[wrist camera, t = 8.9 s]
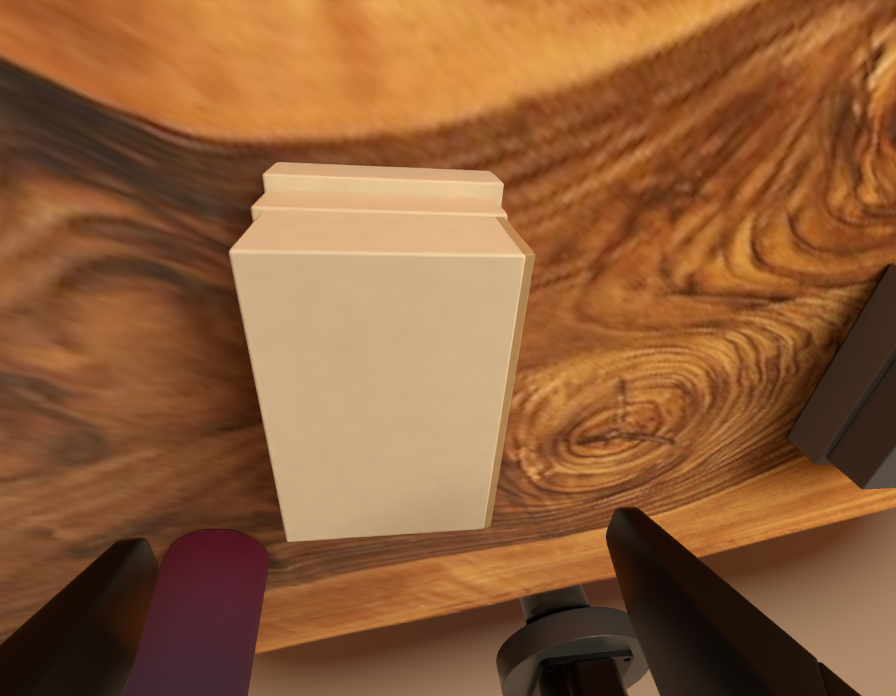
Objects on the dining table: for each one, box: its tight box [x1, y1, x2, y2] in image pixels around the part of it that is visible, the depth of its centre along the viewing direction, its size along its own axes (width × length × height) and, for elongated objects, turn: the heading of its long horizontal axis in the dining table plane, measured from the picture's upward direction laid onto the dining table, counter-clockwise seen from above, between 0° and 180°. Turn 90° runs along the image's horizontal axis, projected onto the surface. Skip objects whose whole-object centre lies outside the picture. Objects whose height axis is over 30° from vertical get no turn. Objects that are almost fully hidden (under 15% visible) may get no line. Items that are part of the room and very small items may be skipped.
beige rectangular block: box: [229, 211, 535, 542], centre depth 13 cm, size 9×6×3 cm
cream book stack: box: [251, 162, 508, 222], centre depth 16 cm, size 10×7×4 cm
